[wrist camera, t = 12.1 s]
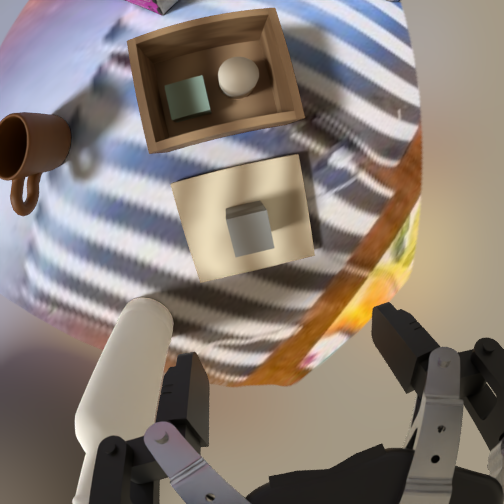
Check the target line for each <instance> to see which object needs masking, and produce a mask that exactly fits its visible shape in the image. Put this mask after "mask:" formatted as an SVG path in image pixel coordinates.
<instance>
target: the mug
mask: <svg viewBox="0 0 504 504" xmlns="http://www.w3.org/2000/svg"><path fill="white" fill-rule="evenodd" d="M70 145H71V132H70V128H69V126H68V124H67V122H66V121H65V120H64V119H63V118H61V117H59V116H56V115H48V114H40V113H27V112H23V113H12V114H9V115H8V116H6V117H5V118H3V119H2V120H1V122H0V178H1V179H3V180H12V187H11V194H10V200H11V204H12V207H13V210H14V211H15V212H16V213H17V214H18V215H21V216H26V215H29V214H30V213H31V212H32V211H33V210H34V208H35V206H36V204H37V202H38V197H39V182H40V178H41V175H42V173H43V172H47V171H51V170H53V169H55V168H57V167H58V166H59V165H61V164H62V162H63V161H64V160H65V158H66V156H67V154H68V152H69V149H70ZM25 177H28V180H27V198H26V201H25V202H23V199H22V194H23V186H24V180H25Z"/></svg>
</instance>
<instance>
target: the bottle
mask: <svg viewBox="0 0 504 504" xmlns="http://www.w3.org/2000/svg"><path fill="white" fill-rule="evenodd" d="M173 325H174V322H173V318H172V315H171V313H170V312H169V310H168V309H167V308H166V307H165V306H164V305H163V304H161V303H160V302H158V301H156V300H153V299H151V298H143V297H141V298H136V299H133V300H131V301H130V302H128V303H127V305H126V306H125V308H124V309H123V311H122V312H121V314H120V316H119V318H118V320H117V323H116V325H115V327H114V329H113V331H112V333H111V335H110V337H109V339H108V341H107V344H106V346H105V348H104V350H103V352H102V354H101V356H100V358H99V360H98V363H97V365H96V367H95V369H94V371H93V374H92V376H91V378H90V380H89V383H88V385H87V388H86V390H85V393H84V395H83V397H82V399H81V402H80V404H79V407H78V409H77V412H76V415H75V428H76V429H75V430H76V436H77V439H78V441H79V442H80V444H81V446H82V447H83V449H84V451H85V452H86V455H85V459H84V463H83V466H82V470H81V474H80V478H79V483H78V487H77V491H76V496H75V497H74V498H73V501H72V502H73V504H89V497H90V490H91V483H92V477H93V471H94V465H95V460H96V455H97V450H98V446H99V444H100V442H101V441H102V440H103V439H104V438H106V437H108V436H113V435H115V436H119V437H121V438H122V439H123V440H125V441H128V440H131V439H135V438H138V437H141V436H144V434H145V432H146V430H147V429H148V428H149V427H150V426H151V425H153V424H154V419H155V413H156V407H157V402H158V396H159V391H160V385H161V381H162V375H163V371H164V366H165V361H166V356H167V352H168V347H169V344H170V342H171V337H172V332H173Z"/></svg>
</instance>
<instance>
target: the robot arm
mask: <svg viewBox="0 0 504 504" xmlns="http://www.w3.org/2000/svg"><path fill="white" fill-rule="evenodd" d="M387 1H395V2H396V1H400V0H387ZM372 339H373V342H374V344H375V346H376V347H377V349H378V350H379V352H380V353H381V355H382V356H383V358H384V360H385V361H386V363H387V364H388V366H389V367H390V369H391V370H392V372H393V373H394V375H395V376H396V378H397V380H398V381H399V383H400V384H401V386H402V387H403V389H404V391H405V392H406V394H407V393H409V392H411V391H413V390H415V392H416V393H417V396H416V399H415V405H414V409H413V414H412V418H411V422H410V427H409V430H408V434H407V437H406V439H405V442H404V445H403V447H402V448H387V449H384V447H383V444H379V445H377V446H375V447H372V448H369V449H367V450H364V451H362V452H359V453H356V454H355V455H353V456H351V457H350V458H348V459H346V460H345V461H343V462H341V463H339V464H338V465H336V466H334V467H332V468H330V469H324V470H304V471H294V472H289V473H285V474H279V475H274V476H269V483H266V484H264V485H262V486H261V487H258V488H257V489H255V490H254V491H252V492H251V493H250V494H249V495H247V497H246V498H245V497H244V496H242V495H241V494H240V493H239V492H238V491H237V490H235V489H234V488H233V487H232V486H231V485H230V484H229V483H228V482H226V480H225V479H223V478H222V477H221V476H220V475H219V474H218V473H217V472H216V471H215V470H214V469H213V468H212V467H211V466H210V465H209V464H208V463H207V462H206V461H205V460H204V459H203V458H202V457H201V455H200V448H201V447H208V446H209V380H208V376H207V374H206V372H205V370H204V368H203V366H202V364H201V362H200V360H199V357H198V355H197V354H196V352H191V353H185V354H179V355H178V358H177V363H176V366H175V367H170V368H169V369H168V371H167V372H166V374H165V376H164V379H163V385H162V386H163V387H162V390H161V395H160V401H159V406H158V411H157V417H156V422H155V424H153V425H151V426H150V427H149V428H148V429H147V430H146V432H145V434H144V436H141V437H138V438H135V439H131V440H128V441H125V440H123V439H122V438H121V437H119V436H115V435H113V436H108V437H106V438H104V439H103V440H102V441H101V442H100V444H99V446H98V450H97V455H96V460H95V465H94V471H93V477H92V483H91V490H90V497H89V504H159V485H160V484H159V482H160V479H164V478H167V477H169V478H170V480H171V481H170V483H171V485H172V487H173V488H174V489H175V491H176V492H177V493H178V494H179V496H180V497H181V498H182V499H183V500H184V502H185V503H186V504H503V502H504V349H503V348H502V347H501V346H500V345H499V343H498V342H497V341H495V340H494V339H491V338H482V339H479V340H478V341H477V342H476V344H475V346H474V349H472V350H469V351H464V352H459V353H457V352H456V351H455V350H454V349H452V348H449V347H440V346H439V345H438V343H437V342H436V341H435V340H434V339H433V338H432V337H431V336H430V334H429V333H428V332H427V331H426V330H425V329H424V328H423V327H422V326H421V325H420V323H418V322H417V320H416V319H415V318H414V317H413V316H412V315H411V314H410V313H408V312H406V311H404V310H402V309H400V310H396V309H395V308H394V306H393V305H392V304H391V303H389V302H387V303H384V304H381V305H379V306H376V307H374V308H373V312H372ZM486 382H487V383H488V384H489V386H490V387H491V388H492V390H493V391H494V393H495V394H496V396H497V398H496V396H495V395H494V394H493V392H492V390H491V389H490V388H489V386H488V385H487V384H486ZM463 404H464V406H465V408H466V409H467V411H468V412H469V414H470V416H471V417H472V419H473V421H474V422H475V424H476V426H477V428H478V430H479V431H480V433H481V435H482V437H483V439H484V440H485V442H486V444H487V446H488V448H489V450H490V454H489V457H488V465H487V468H488V470H489V471H490V475H486V474H482V473H478V472H474V471H471V470H468V469H464V468H461V467H458V466H455V464H456V459H457V454H458V448H459V442H460V434H461V427H462V416H463Z"/></svg>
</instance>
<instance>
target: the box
mask: <svg viewBox="0 0 504 504" xmlns="http://www.w3.org/2000/svg"><path fill="white" fill-rule="evenodd" d="M127 45H128V51H129V58H130V64H131V70H132V76H133V81H134V87H135V92H136V97H137V102H138V107H139V112H140V116H141V121H142V125H143V130H144V134H145V138H146V142H147V147H148V151H149V154H153V153H165V152H170V151H173V150H177V149H180V148H184V147H187V146H191V145H195V144H198V143H202V142H206V141H210V140H214V139H218V138H222V137H226V136H231V135H235V134H240V133H245V132H249V131H254V130H260V129H265V128H270V127H276V126H282V125H287V124H289V123H292V122H295V121H298V120H301V119H304V118H305V116H304V112H303V107H302V103H301V98H300V94H299V90H298V86H297V82H296V78H295V74H294V70H293V66H292V63H291V59H290V55H289V52H288V48H287V45H286V41H285V38H284V34H283V31H282V28H281V25H280V21H279V18H278V15H277V12H276V9H275V8H264V9H254V10H245V11H238V12H231V13H225V14H219V15H214V16H209V17H204V18H199V19H195V20H191V21H187V22H183V23H179V24H175V25H172V26H169V27H165V28H162V29H159V30H156V31H153V32H150V33H147V34H144V35H141V36H138V37H136V38H133V39H130V40H128V41H127Z"/></svg>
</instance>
